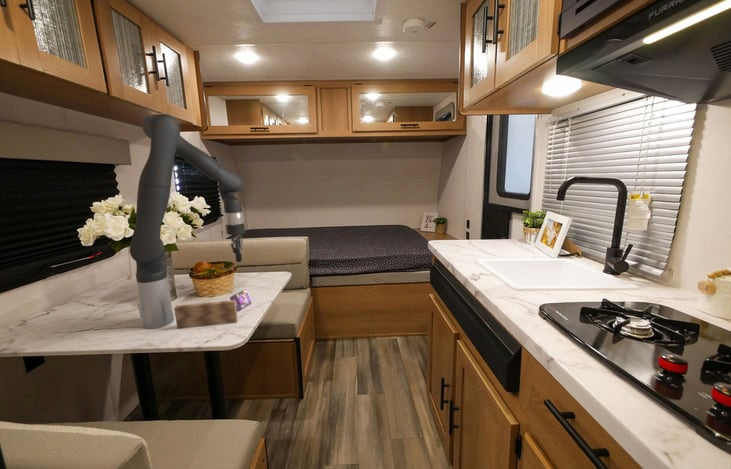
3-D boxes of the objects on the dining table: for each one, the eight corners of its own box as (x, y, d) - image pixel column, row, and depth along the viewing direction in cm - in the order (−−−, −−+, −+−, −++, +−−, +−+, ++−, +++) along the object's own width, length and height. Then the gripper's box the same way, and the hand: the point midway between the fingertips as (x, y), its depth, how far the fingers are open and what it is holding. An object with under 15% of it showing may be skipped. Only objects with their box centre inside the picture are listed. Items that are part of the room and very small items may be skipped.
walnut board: (177, 329, 111) (174, 308, 110) (179, 326, 113) (176, 305, 112) (236, 322, 115) (234, 302, 113) (237, 320, 117) (235, 300, 115)
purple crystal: (231, 296, 123) (246, 288, 131) (222, 299, 125) (237, 291, 133) (237, 312, 123) (252, 303, 132) (228, 314, 125) (243, 305, 133)
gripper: (229, 221, 140) (233, 258, 143) (221, 225, 127) (226, 266, 130) (246, 220, 141) (250, 256, 144) (241, 224, 128) (245, 264, 132)
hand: (239, 261), depth 137 cm, fingers closed
